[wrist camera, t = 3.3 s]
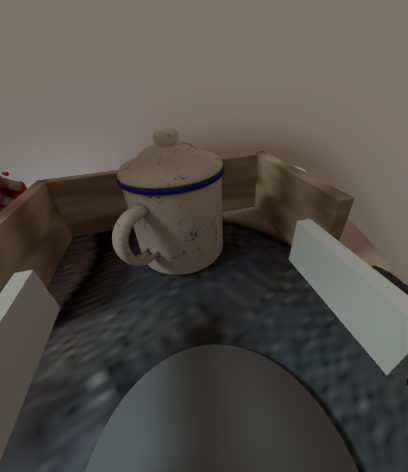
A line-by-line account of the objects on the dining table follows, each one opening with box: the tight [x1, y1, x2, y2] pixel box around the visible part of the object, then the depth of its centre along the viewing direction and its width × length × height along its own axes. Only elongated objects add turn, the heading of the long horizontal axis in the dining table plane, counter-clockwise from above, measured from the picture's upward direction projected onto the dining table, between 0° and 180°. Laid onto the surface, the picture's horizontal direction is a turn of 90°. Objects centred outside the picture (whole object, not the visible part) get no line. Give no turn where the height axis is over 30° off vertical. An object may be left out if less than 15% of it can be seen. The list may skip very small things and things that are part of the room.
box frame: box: [0, 151, 354, 293], centre depth 21 cm, size 15×26×7 cm, turn 103°
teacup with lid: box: [112, 129, 224, 275], centre depth 19 cm, size 12×9×12 cm
